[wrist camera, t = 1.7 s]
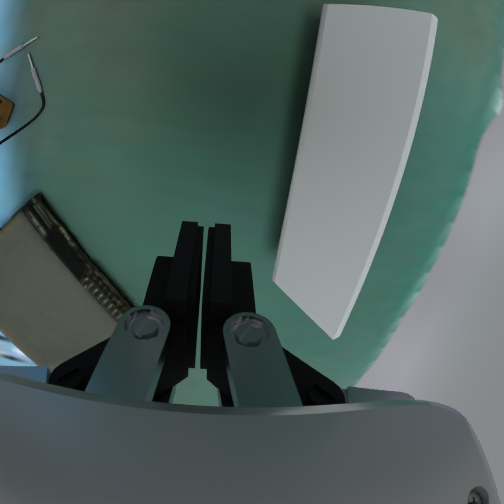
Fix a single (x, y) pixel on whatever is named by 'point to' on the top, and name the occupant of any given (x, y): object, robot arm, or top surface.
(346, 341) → the top surface
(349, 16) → the panel
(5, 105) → the multimeter
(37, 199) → the network switch
